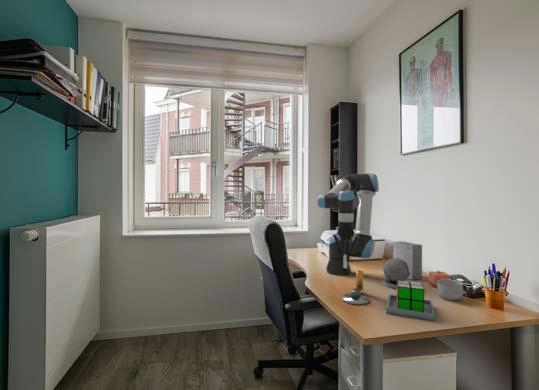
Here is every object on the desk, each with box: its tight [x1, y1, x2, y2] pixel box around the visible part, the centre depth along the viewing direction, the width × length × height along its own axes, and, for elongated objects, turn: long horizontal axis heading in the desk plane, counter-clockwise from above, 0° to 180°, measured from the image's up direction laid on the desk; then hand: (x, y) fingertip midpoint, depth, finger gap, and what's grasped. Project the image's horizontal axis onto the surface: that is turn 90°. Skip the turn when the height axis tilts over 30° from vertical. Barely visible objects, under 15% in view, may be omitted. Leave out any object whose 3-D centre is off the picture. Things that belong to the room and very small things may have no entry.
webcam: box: [382, 257, 409, 290], centre depth 163 cm, size 13×13×15 cm
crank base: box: [341, 293, 370, 306], centre depth 141 cm, size 12×12×1 cm
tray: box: [385, 294, 435, 322], centre depth 130 cm, size 18×18×2 cm
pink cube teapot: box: [428, 270, 451, 289], centre depth 162 cm, size 8×12×8 cm, turn 173°
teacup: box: [437, 279, 464, 301], centre depth 145 cm, size 14×11×8 cm
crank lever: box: [350, 270, 364, 299], centre depth 146 cm, size 16×4×9 cm, turn 155°
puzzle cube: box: [396, 280, 425, 313], centre depth 130 cm, size 10×10×10 cm
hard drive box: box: [392, 240, 423, 281], centre depth 181 cm, size 16×8×20 cm, turn 22°
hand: (345, 267), depth 154 cm, fingers closed
